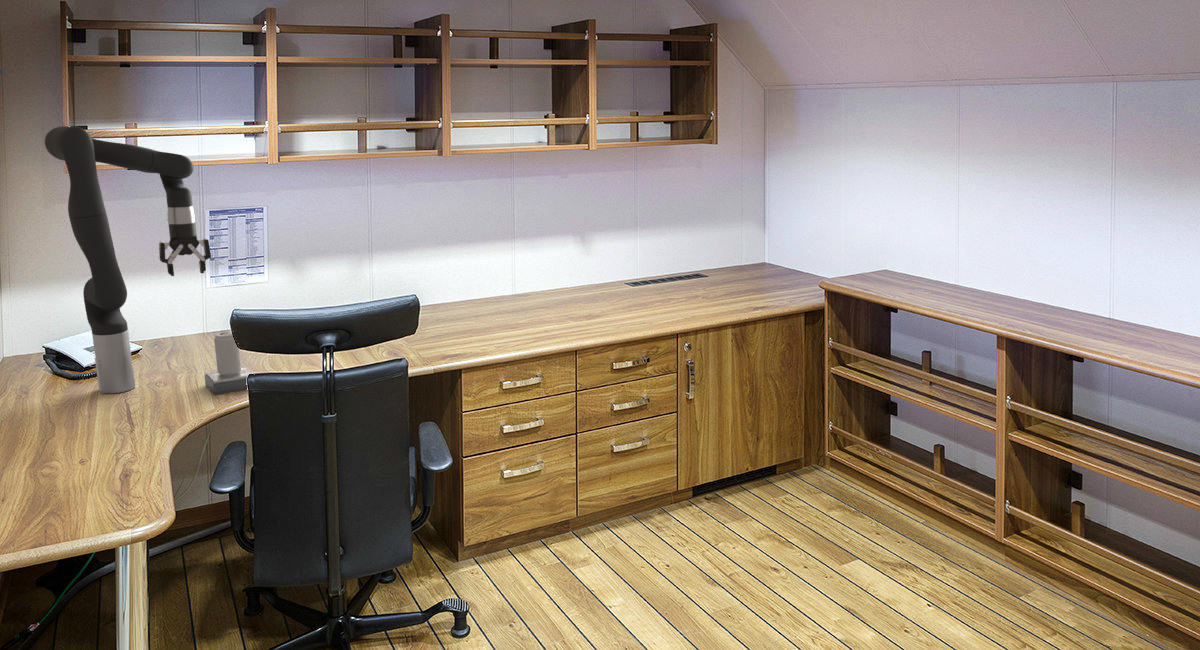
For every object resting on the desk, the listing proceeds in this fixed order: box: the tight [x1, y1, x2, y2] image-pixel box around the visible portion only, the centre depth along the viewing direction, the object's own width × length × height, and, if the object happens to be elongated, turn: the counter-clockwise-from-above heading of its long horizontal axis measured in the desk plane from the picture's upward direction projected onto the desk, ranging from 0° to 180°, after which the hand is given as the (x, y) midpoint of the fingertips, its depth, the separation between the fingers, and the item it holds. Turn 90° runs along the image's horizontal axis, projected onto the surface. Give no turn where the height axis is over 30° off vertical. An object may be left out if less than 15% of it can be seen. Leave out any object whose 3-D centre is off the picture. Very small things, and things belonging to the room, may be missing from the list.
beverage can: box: [213, 331, 242, 376], centre depth 275 cm, size 6×6×12 cm
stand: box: [204, 366, 254, 396], centre depth 277 cm, size 12×12×4 cm
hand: (187, 274), depth 291 cm, fingers open, 8 cm apart
